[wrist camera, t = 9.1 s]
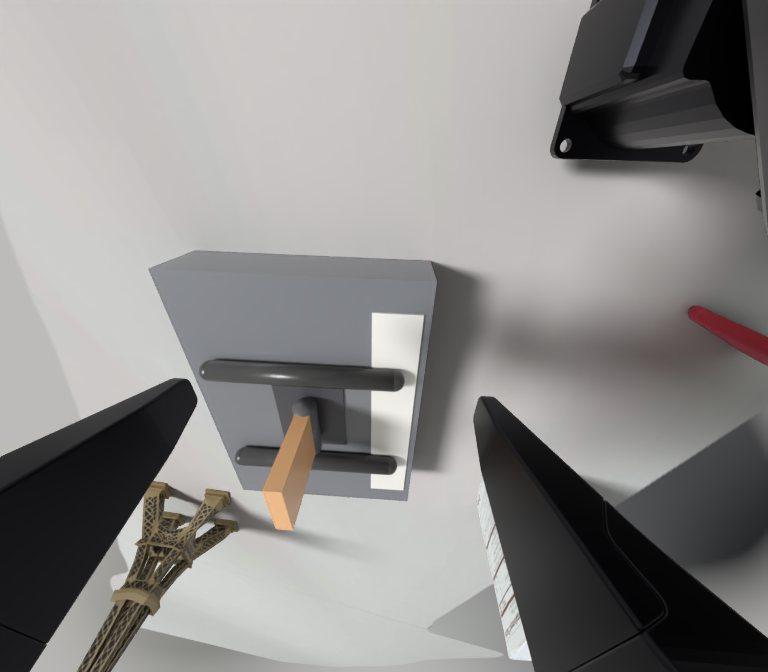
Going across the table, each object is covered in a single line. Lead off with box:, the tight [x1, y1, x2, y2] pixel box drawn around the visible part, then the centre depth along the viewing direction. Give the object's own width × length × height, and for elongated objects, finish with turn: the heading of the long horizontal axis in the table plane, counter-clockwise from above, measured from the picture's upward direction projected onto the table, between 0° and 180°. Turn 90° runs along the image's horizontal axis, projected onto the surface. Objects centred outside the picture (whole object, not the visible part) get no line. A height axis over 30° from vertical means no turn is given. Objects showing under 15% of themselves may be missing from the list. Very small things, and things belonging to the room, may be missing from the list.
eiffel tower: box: [77, 481, 238, 672], centre depth 27 cm, size 11×11×25 cm
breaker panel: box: [149, 251, 437, 501], centre depth 22 cm, size 16×22×5 cm
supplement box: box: [477, 476, 532, 661], centre depth 25 cm, size 7×7×13 cm
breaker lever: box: [262, 397, 322, 530], centre depth 18 cm, size 2×4×6 cm, turn 179°
